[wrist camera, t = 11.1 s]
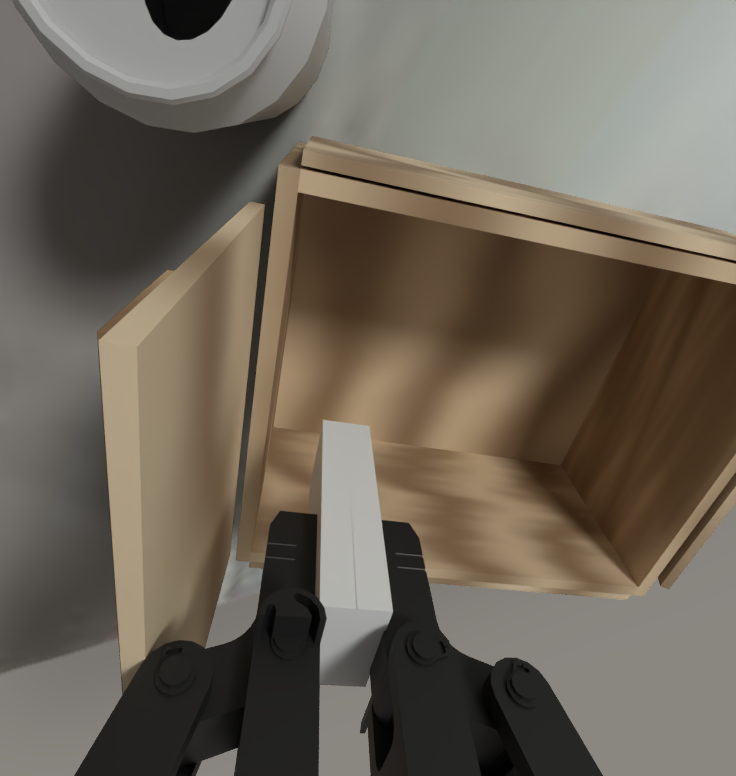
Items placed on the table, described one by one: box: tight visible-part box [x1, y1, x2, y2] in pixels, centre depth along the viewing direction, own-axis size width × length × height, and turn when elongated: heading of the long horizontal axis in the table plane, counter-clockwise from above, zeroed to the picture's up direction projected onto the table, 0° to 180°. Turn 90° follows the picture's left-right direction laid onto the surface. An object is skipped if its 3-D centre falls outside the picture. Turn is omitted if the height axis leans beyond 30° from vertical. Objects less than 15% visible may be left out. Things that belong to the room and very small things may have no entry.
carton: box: [236, 136, 736, 600], centre depth 23 cm, size 20×17×10 cm
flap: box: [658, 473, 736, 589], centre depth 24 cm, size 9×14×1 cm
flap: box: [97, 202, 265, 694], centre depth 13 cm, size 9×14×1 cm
